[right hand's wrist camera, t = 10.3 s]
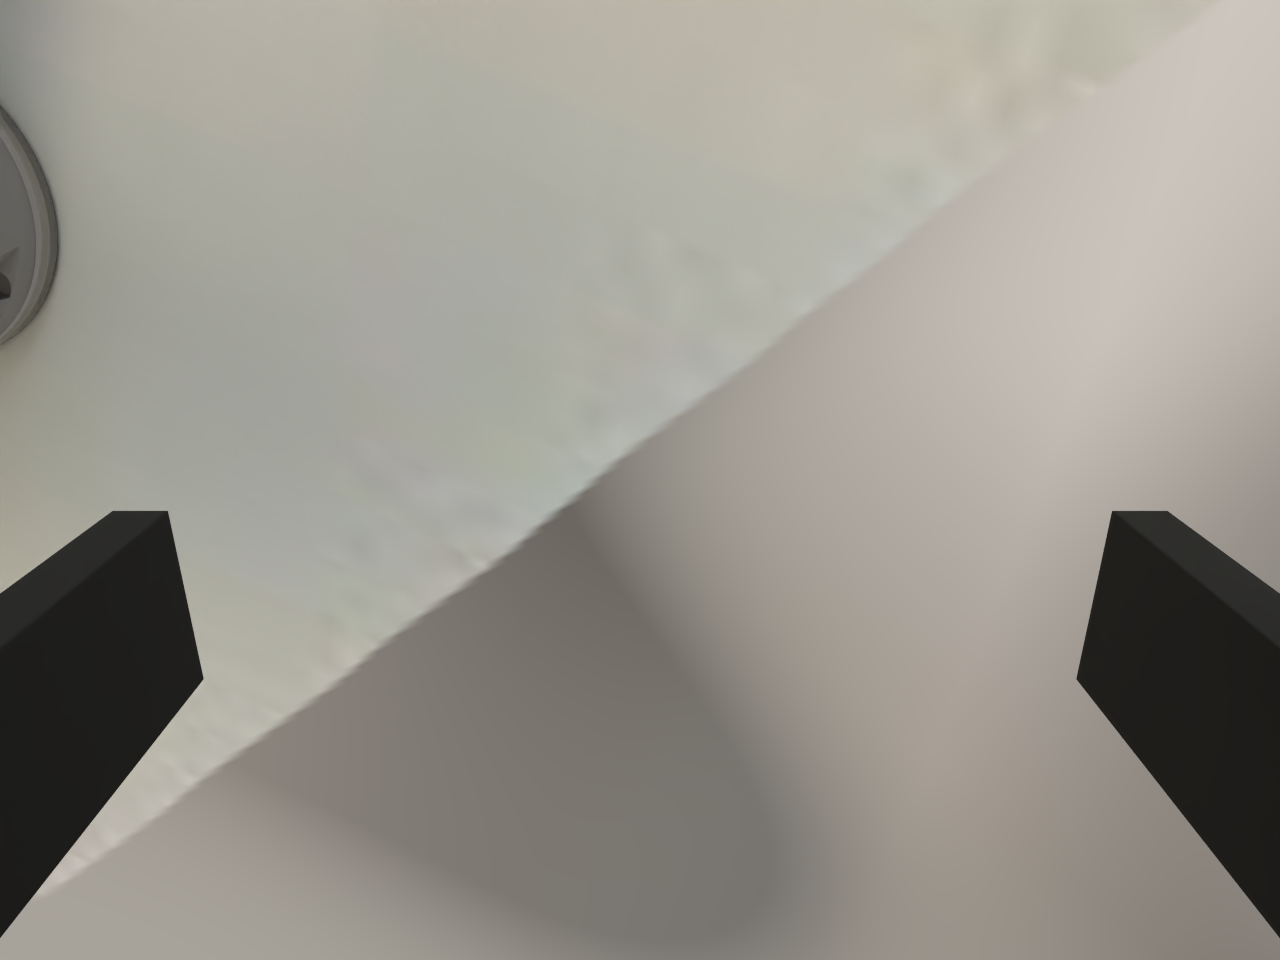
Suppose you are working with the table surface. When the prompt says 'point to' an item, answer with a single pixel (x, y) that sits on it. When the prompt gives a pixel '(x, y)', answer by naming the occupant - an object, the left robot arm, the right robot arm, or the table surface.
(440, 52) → the table surface
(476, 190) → the table surface
